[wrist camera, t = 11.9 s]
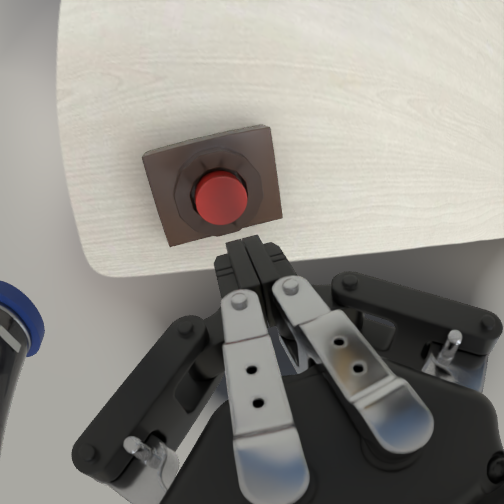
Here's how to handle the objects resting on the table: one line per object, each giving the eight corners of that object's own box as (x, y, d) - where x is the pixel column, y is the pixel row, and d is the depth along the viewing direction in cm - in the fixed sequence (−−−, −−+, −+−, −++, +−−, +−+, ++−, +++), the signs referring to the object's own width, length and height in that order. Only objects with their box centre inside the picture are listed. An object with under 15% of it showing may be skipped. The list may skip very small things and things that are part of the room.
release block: (170, 236, 26) (169, 258, 22) (145, 152, 21) (138, 161, 18) (275, 209, 27) (290, 227, 23) (262, 124, 23) (277, 129, 19)
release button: (200, 221, 22) (202, 231, 20) (189, 177, 20) (190, 183, 18) (246, 209, 22) (251, 218, 21) (238, 165, 20) (242, 171, 19)
